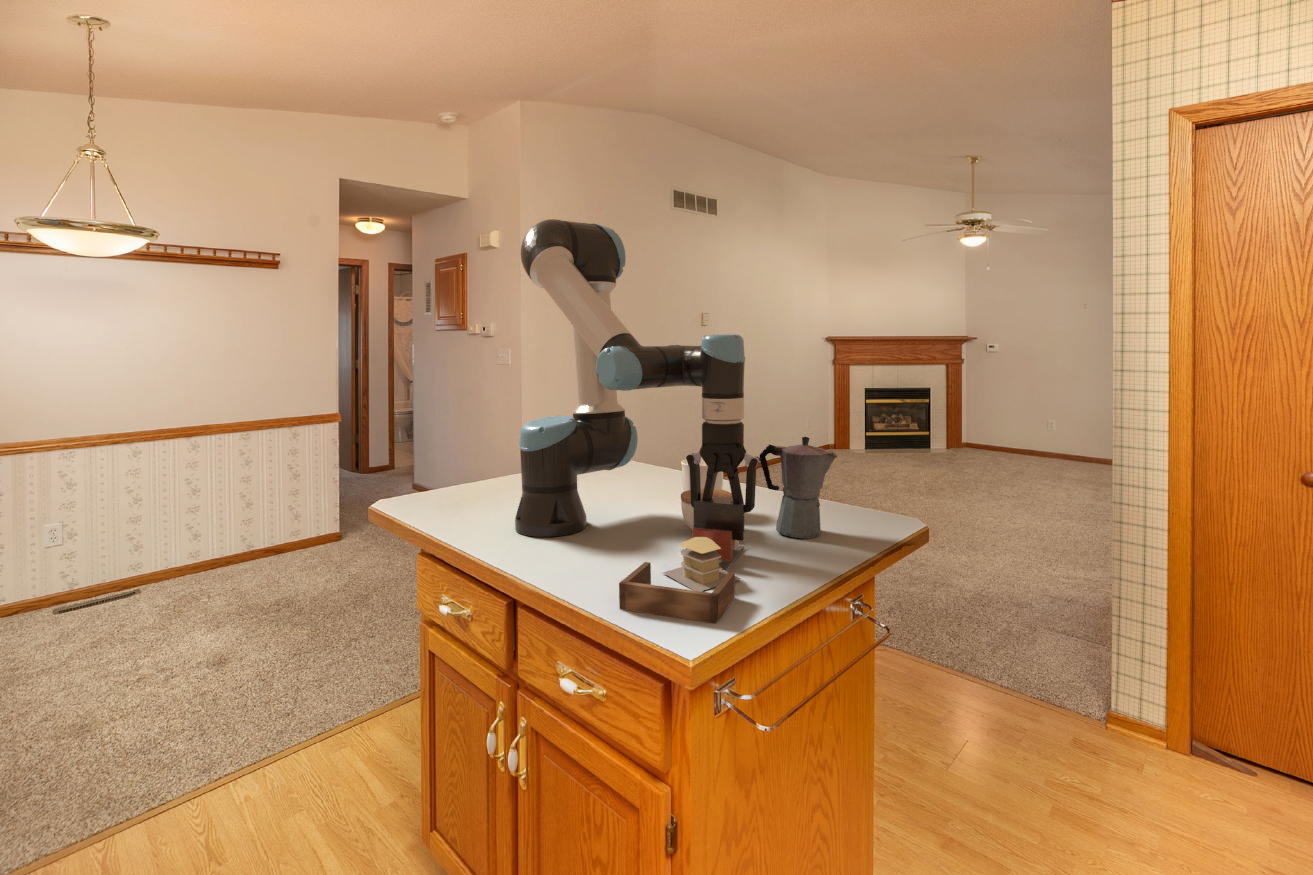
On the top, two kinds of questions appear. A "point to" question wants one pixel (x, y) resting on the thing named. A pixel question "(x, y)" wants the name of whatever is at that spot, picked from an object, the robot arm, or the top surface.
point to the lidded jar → (689, 510)
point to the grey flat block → (735, 554)
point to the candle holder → (702, 476)
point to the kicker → (719, 523)
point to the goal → (674, 597)
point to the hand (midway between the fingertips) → (722, 545)
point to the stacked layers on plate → (699, 565)
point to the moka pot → (799, 486)
